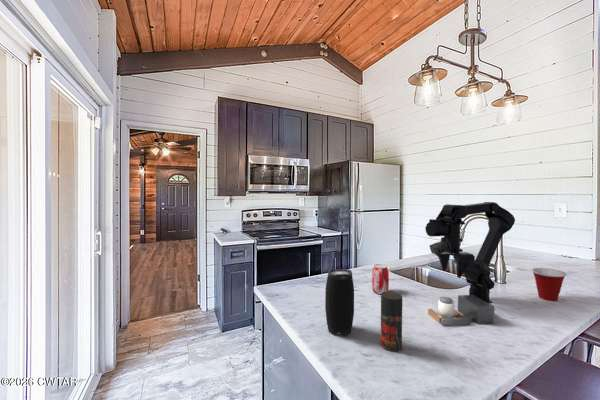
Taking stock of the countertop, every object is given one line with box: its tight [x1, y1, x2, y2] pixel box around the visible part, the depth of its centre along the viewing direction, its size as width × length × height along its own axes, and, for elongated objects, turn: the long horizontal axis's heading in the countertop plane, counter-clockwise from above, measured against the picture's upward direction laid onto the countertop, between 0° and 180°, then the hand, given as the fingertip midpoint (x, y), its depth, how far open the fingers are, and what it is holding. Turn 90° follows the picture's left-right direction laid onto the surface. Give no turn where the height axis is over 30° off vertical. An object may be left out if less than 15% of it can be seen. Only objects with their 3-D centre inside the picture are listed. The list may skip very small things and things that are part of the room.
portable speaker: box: [324, 268, 355, 336], centre depth 87 cm, size 9×9×20 cm
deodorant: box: [380, 291, 403, 353], centre depth 78 cm, size 6×6×15 cm
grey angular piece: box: [427, 294, 495, 327], centre depth 97 cm, size 19×12×6 cm, turn 95°
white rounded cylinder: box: [437, 296, 455, 318], centre depth 96 cm, size 5×5×7 cm
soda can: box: [371, 263, 390, 295], centre depth 120 cm, size 7×7×12 cm
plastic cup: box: [531, 267, 567, 302], centre depth 113 cm, size 11×11×12 cm
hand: (451, 274), depth 108 cm, fingers open, 9 cm apart
